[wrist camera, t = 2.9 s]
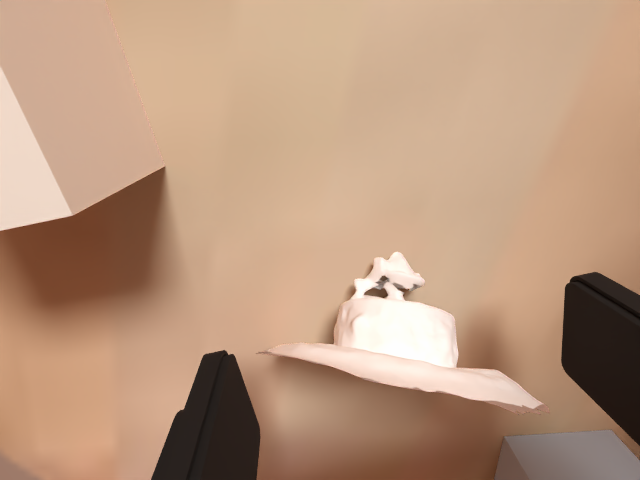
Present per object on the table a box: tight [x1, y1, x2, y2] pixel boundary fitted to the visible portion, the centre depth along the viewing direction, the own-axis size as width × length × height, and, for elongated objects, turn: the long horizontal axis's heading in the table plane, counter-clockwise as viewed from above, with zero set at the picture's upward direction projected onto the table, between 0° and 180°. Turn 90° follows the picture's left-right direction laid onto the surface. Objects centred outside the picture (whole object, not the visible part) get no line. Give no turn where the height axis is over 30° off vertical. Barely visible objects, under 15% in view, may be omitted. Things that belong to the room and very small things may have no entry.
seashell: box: [256, 252, 549, 415], centre depth 11 cm, size 8×5×8 cm
